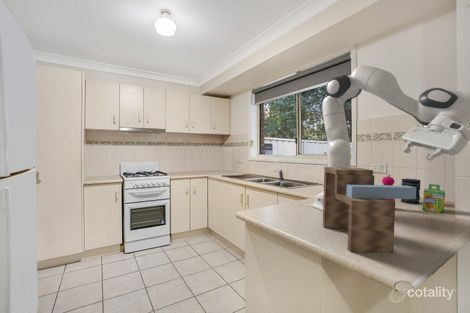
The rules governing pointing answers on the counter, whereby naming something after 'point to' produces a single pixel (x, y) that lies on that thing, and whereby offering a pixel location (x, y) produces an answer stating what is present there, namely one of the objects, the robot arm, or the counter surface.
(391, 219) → the step shelf
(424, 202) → the chalk box
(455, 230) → the counter surface
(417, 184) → the storage jar
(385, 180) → the pepper mill
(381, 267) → the counter surface
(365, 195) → the beam
